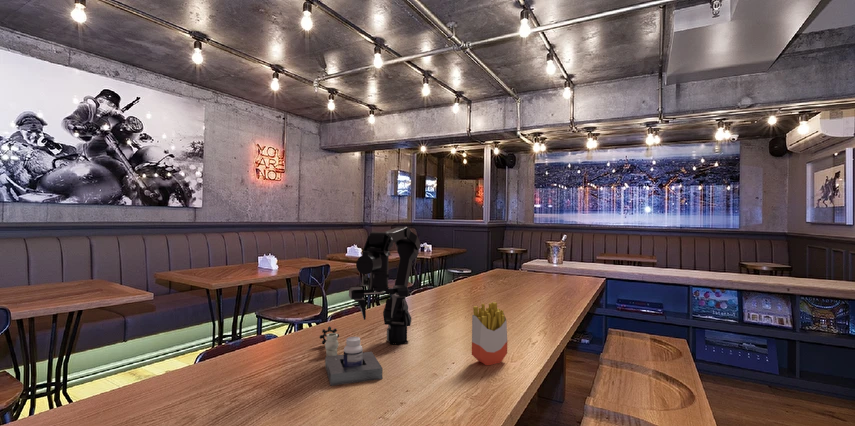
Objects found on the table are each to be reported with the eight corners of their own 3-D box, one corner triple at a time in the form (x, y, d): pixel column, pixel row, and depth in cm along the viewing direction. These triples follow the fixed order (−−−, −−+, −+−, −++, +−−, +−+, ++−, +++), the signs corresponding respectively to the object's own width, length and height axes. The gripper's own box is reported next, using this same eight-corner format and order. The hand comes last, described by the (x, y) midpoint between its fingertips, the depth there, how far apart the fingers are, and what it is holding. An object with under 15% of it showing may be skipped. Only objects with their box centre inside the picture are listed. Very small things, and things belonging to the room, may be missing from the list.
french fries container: (508, 361, 122) (508, 304, 122) (480, 367, 116) (481, 307, 116) (498, 356, 125) (499, 301, 126) (471, 362, 120) (472, 304, 120)
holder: (371, 361, 120) (371, 351, 120) (382, 378, 107) (382, 368, 107) (325, 366, 115) (325, 356, 115) (330, 385, 102) (330, 374, 102)
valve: (342, 356, 124) (338, 344, 136) (343, 335, 124) (339, 325, 136) (321, 358, 122) (319, 346, 134) (321, 337, 122) (319, 327, 134)
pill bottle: (344, 369, 113) (345, 335, 113) (363, 368, 114) (363, 335, 114) (342, 376, 108) (342, 341, 108) (361, 376, 108) (362, 341, 109)
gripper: (400, 266, 136) (399, 311, 136) (346, 268, 129) (345, 314, 129) (409, 270, 125) (408, 318, 125) (352, 272, 119) (351, 323, 119)
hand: (378, 318), depth 125 cm, fingers open, 9 cm apart
